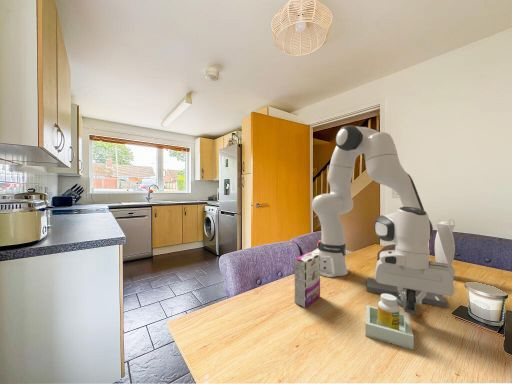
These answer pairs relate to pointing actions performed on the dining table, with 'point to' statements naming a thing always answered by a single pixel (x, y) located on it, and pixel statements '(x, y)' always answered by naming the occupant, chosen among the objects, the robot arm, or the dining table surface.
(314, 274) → the candy bar box
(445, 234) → the skyscraper
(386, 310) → the supplement bottle
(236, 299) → the dining table surface
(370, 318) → the tray
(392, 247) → the decorative dome
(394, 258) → the robot arm
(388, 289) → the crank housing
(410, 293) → the crank
